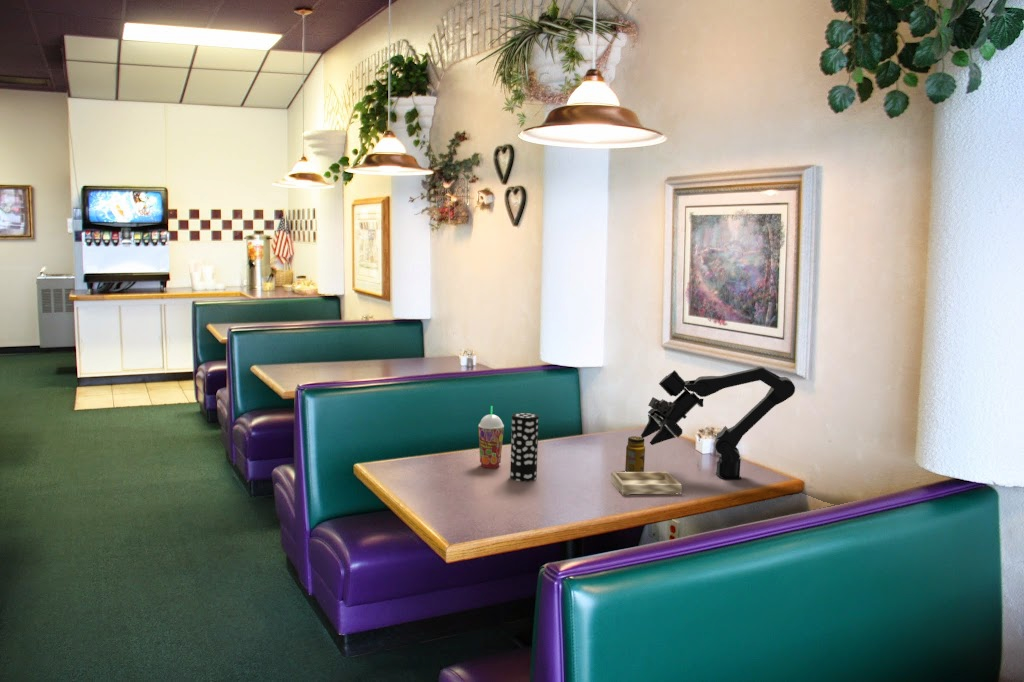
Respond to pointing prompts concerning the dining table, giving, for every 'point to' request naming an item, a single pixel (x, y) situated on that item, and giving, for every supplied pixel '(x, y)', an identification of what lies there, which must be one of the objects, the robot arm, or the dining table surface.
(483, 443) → the smoothie
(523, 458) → the white-spotted black cylinder
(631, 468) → the condiment
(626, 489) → the tray
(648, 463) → the dining table surface
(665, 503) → the dining table surface
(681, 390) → the robot arm
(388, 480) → the dining table surface
